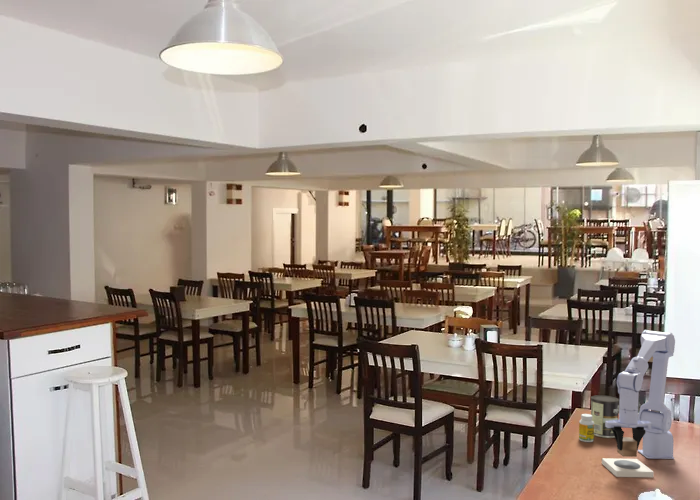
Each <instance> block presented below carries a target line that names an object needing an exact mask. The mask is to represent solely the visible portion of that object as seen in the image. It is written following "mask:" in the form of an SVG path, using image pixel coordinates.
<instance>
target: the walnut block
mask: <svg viewBox="0 0 700 500" xmlns="http://www.w3.org/2000/svg"><path fill="white" fill-rule="evenodd" d="M616 449H617V450H616V452H617V453H618V454H619V455H621V456H622V457H626V458H627V457H629V458H630V457H632V458H635V457H637V455H638V450H637V441H636V440H634V439H633V437H629V436H625V437H624V436H623V447H622V450H619V449H618V448H616Z"/></svg>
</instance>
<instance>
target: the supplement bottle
mask: <svg viewBox="0 0 700 500" xmlns="http://www.w3.org/2000/svg"><path fill="white" fill-rule="evenodd" d="M580 418H581V419H579V422H578V439H579V441H581V442H584V443H593V442H594V440H595V439H594V438H595V435H594V422H593V421H592V415H591V413H582V414H581V415H580Z"/></svg>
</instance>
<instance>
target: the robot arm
mask: <svg viewBox="0 0 700 500" xmlns="http://www.w3.org/2000/svg"><path fill="white" fill-rule="evenodd" d="M640 344H641V347H640V349H639V351H638V353H637V355H636V356H634V357H632V358H631V359H630V360H629V362H628V365H627V366H626V367H625V370H624V371H622V372H619V373H618V375H617V377H616V387H617V393H618V394H619V417H618V420H611V421H605V427H607V428H611V429H612V431H613V433H614V436H615V438H614V440H615V441H616V447H617V448H618V449H619V450H622V447H623V437H624V436H625V435H624V433H625V431H624V430H623V429H625V428H626V429H631V432H632V438H633V439H634V440H636V441H637V453H640V454H641V455H642V456H643V457H645V458H646V459H650V460H651V459H655V460H656V459H660V460H661V459H662V460H675V457H674V444H675V443H674V436H673V433H672V432H671V431H670V430H671V427H672V422H673V421H672V411H671V409H670V408H669V407H668V406H666V404H665V403H664V402H665V393H666V392H665V391H666V383H667V376H668V375H667V374H668V365H669V364H668V363H669V359H670V357H673V356H674V353H675V346H676V345H675V344H676V339H675V335H674V334H673V333H672V332H665V331H663V332H662V331H655V330H648V329H644V330H643V331H642V333H641V335H640ZM651 358H652V365H651V373H650V374H651V375H650V383H649V392H648V401H647V402H645V403H642V405H640V408H639V392H640V391H641V389H642V386H643V382H644V376H645V374H646V372H647V371H648V369H649V363H648V362H649V361H650V360H651ZM622 428H623V429H622ZM641 442H642V449H639V446H640V443H641ZM617 448H616V449H617Z"/></svg>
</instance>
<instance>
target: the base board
mask: <svg viewBox="0 0 700 500" xmlns="http://www.w3.org/2000/svg"><path fill="white" fill-rule="evenodd" d="M601 464H602V465H603V466H604V467H605V468H606V469H607V470H608V471H609V472H610V473H611V474H613V475H614V477H616V478H654V476H655V475H654V474H655V473H654V470H652V469H651V468H650V467H648V466H647V465H645V463H643V462H642V461H640V459H638V458H612V457H611V458H604V457H602V458H601Z"/></svg>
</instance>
